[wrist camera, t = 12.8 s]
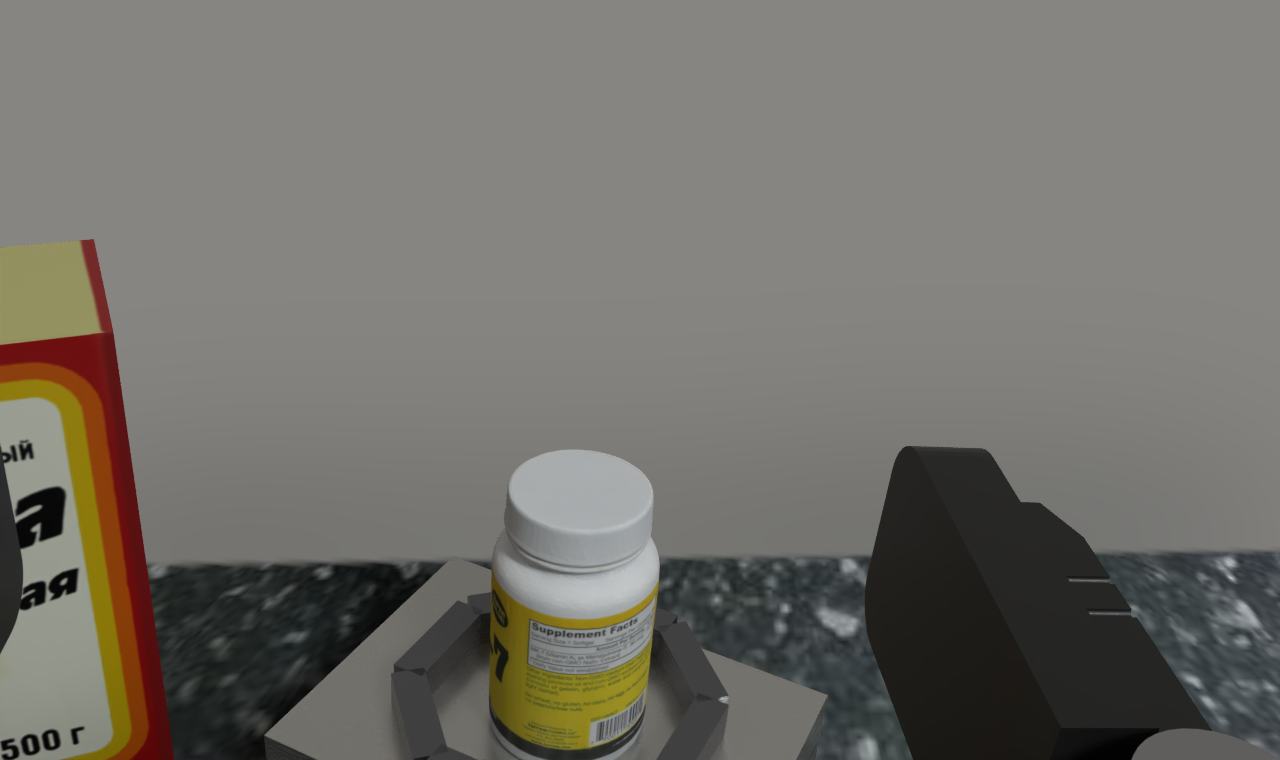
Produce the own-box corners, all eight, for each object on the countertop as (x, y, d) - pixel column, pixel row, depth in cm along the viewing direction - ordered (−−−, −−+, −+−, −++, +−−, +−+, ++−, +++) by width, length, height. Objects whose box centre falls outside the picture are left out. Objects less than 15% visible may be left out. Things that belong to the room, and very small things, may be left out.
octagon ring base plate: (272, 831, 37) (261, 704, 35) (453, 643, 45) (453, 528, 43) (692, 1037, 32) (713, 907, 30) (809, 785, 41) (833, 666, 38)
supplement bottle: (498, 657, 39) (506, 432, 35) (646, 669, 39) (669, 447, 35) (475, 770, 35) (481, 530, 31) (640, 784, 35) (667, 546, 31)
